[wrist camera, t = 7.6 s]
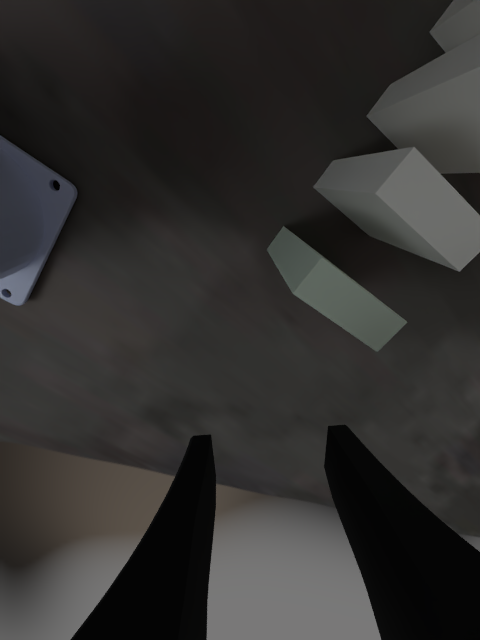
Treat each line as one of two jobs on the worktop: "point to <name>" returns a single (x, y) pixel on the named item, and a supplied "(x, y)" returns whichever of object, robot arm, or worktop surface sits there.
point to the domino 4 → (457, 24)
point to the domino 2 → (404, 205)
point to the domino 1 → (437, 110)
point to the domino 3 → (333, 291)
